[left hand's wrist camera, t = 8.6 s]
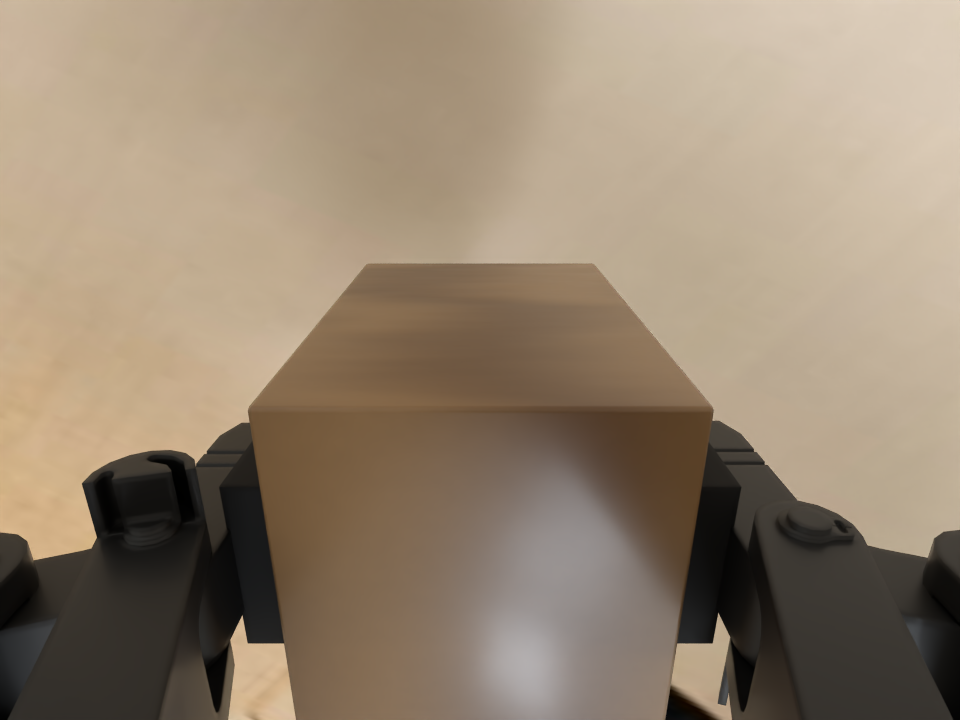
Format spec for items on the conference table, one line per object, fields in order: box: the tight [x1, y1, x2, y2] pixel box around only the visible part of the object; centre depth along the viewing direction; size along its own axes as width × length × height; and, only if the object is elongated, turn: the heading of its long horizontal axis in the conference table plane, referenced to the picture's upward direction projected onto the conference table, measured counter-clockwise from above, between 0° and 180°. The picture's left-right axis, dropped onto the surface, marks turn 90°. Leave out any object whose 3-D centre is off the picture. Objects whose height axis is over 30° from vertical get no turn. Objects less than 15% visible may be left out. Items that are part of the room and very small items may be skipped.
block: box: [248, 264, 714, 720], centre depth 11 cm, size 5×6×8 cm
